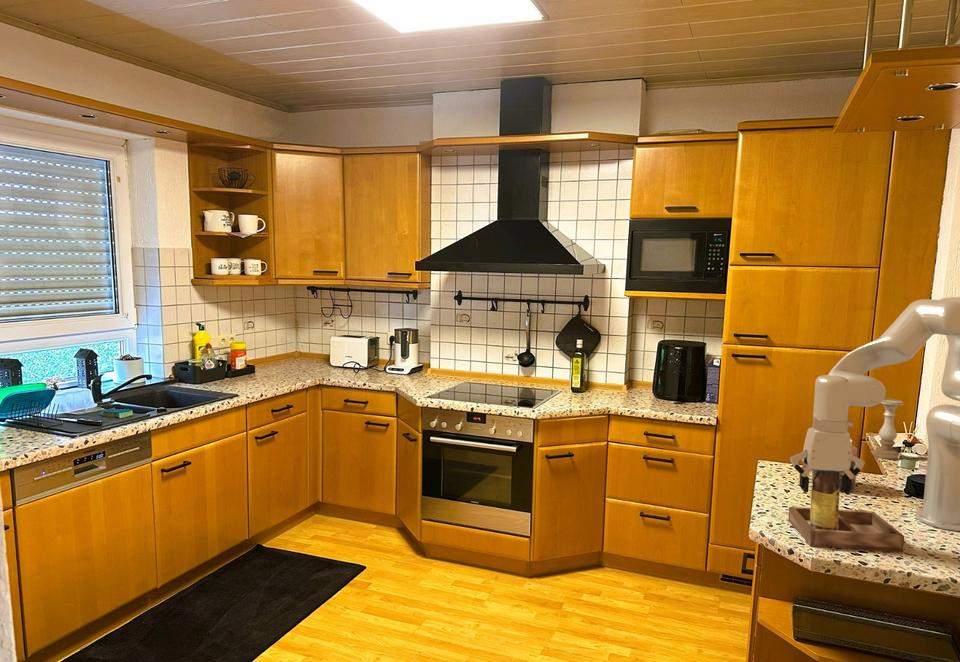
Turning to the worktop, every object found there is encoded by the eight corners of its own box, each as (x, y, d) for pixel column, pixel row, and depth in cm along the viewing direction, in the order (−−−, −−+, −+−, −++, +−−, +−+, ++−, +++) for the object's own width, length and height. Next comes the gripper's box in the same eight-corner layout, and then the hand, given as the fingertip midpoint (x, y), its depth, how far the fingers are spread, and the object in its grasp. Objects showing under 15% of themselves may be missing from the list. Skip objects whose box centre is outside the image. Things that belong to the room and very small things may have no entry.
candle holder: (867, 451, 232) (872, 397, 229) (894, 453, 230) (898, 398, 228) (877, 458, 223) (882, 402, 221) (905, 460, 221) (910, 404, 219)
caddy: (872, 526, 166) (873, 511, 165) (902, 552, 151) (904, 536, 150) (788, 521, 168) (789, 506, 168) (809, 546, 153) (811, 530, 153)
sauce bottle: (840, 536, 156) (846, 459, 154) (813, 534, 158) (819, 457, 155) (831, 526, 163) (837, 451, 160) (805, 523, 164) (810, 449, 162)
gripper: (859, 422, 160) (854, 488, 161) (787, 420, 162) (783, 484, 164) (874, 430, 152) (868, 499, 154) (798, 427, 154) (793, 495, 156)
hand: (824, 491), depth 159 cm, fingers open, 9 cm apart
